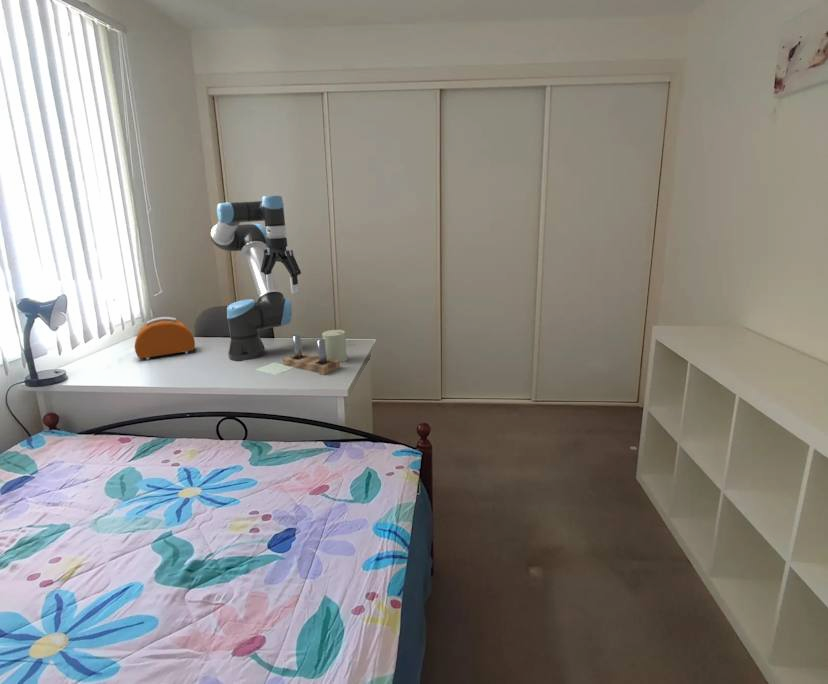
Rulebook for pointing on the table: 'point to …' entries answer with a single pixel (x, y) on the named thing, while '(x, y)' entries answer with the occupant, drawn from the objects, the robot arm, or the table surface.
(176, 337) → the alarm clock
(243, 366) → the table surface
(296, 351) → the pin
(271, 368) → the mat
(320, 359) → the pin
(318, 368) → the socket block
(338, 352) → the can
